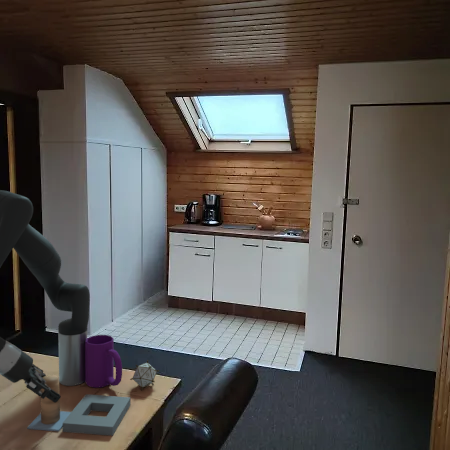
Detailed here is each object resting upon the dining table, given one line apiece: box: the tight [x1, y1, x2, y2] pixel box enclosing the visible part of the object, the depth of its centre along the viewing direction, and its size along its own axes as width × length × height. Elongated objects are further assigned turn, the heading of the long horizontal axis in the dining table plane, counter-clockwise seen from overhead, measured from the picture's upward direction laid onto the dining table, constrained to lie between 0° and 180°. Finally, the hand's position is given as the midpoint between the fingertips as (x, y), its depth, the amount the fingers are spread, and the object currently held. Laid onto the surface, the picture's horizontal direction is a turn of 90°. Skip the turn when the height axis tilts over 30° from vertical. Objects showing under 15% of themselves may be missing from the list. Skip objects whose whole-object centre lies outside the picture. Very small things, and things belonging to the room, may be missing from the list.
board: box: [62, 394, 132, 436], centre depth 127 cm, size 16×14×2 cm
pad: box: [27, 410, 72, 432], centre depth 125 cm, size 9×9×1 cm
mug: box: [85, 334, 123, 389], centre depth 146 cm, size 9×16×15 cm, turn 53°
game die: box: [129, 359, 160, 391], centre depth 147 cm, size 9×8×10 cm
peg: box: [39, 374, 61, 424], centre depth 124 cm, size 5×5×12 cm
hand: (55, 392), depth 125 cm, fingers open, 8 cm apart
